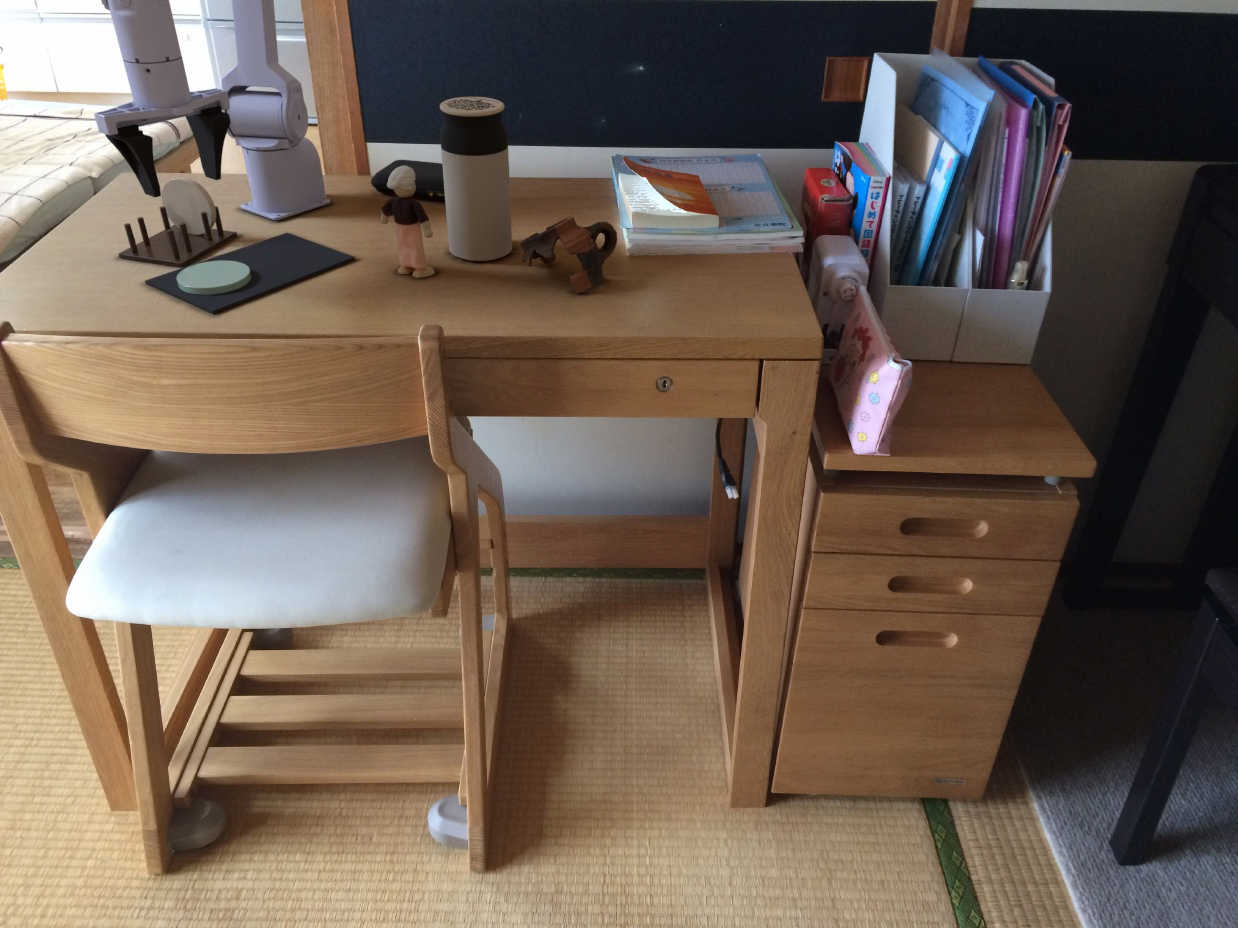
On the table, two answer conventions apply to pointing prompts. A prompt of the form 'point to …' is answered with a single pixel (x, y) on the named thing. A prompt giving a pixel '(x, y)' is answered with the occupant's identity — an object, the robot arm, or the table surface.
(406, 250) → the grandmother figurine
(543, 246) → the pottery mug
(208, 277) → the pale green plate
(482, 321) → the table surface
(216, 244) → the plate rack
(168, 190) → the cream saucer
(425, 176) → the carrying case
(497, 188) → the travel mug
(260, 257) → the charcoal mat
